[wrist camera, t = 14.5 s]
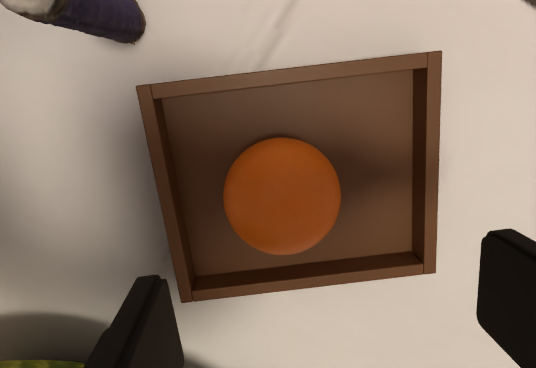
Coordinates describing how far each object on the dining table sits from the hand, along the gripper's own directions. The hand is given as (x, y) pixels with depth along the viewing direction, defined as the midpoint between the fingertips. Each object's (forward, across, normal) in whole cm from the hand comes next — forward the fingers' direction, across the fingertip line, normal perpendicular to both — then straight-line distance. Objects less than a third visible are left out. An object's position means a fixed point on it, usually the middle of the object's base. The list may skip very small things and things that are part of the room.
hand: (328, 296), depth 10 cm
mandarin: (+9, 0, 0) cm, 9 cm away
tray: (+13, -1, 0) cm, 13 cm away
